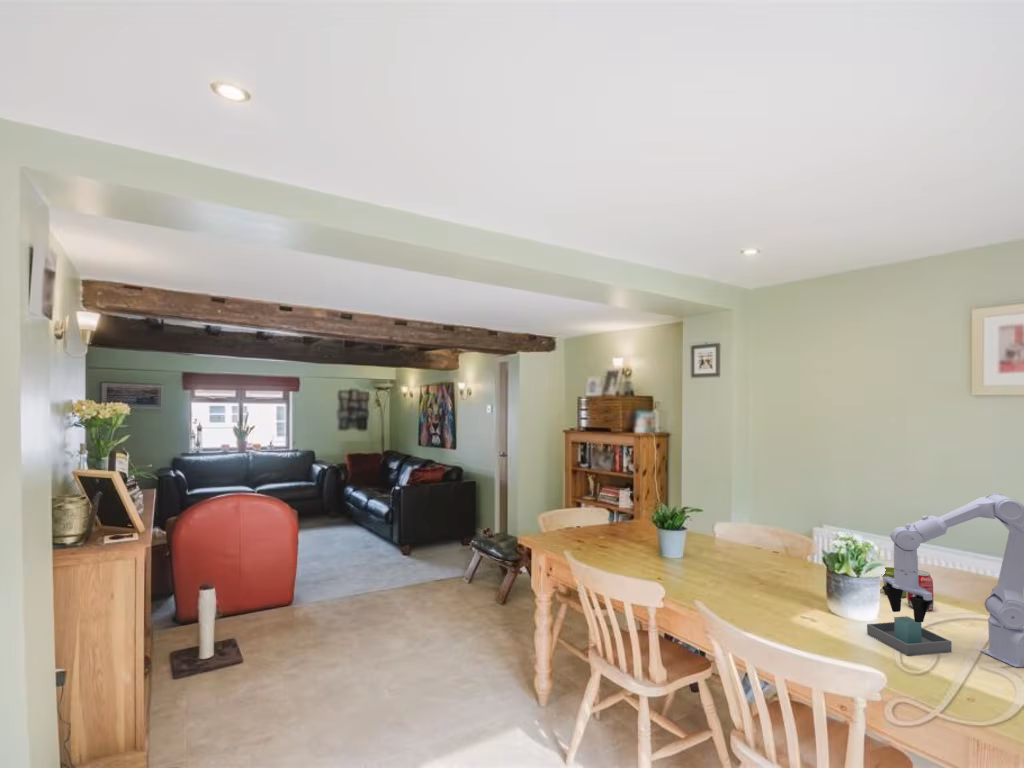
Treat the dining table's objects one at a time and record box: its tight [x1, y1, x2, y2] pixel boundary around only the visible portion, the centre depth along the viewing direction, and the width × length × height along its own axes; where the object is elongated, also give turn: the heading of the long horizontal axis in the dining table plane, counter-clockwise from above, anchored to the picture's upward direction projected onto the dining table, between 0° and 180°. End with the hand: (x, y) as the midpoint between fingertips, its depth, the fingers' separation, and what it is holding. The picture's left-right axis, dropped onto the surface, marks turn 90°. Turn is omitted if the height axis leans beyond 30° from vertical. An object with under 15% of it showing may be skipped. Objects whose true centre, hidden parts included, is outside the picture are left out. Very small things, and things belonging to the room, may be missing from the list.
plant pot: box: [881, 566, 907, 599], centre depth 195 cm, size 9×9×9 cm
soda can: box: [906, 569, 934, 612], centre depth 183 cm, size 7×7×12 cm
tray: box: [866, 621, 952, 657], centre depth 157 cm, size 14×14×3 cm
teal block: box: [893, 615, 922, 644], centre depth 157 cm, size 4×4×6 cm
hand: (907, 616), depth 157 cm, fingers open, 7 cm apart
